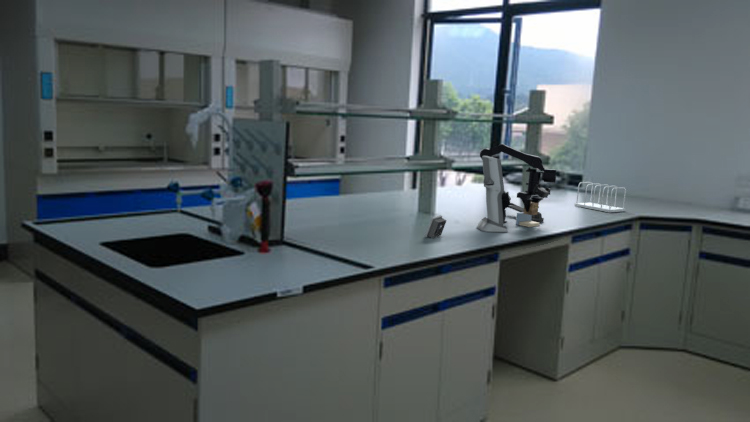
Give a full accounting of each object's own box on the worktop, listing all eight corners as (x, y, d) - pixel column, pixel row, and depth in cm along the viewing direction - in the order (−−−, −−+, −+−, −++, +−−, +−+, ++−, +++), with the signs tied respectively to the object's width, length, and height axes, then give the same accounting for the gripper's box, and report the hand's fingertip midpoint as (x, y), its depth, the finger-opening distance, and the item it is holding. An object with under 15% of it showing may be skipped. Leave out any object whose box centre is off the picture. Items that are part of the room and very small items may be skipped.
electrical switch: (434, 234, 270) (437, 214, 267) (444, 237, 267) (448, 217, 265) (424, 237, 262) (427, 216, 260) (434, 240, 259) (438, 219, 257)
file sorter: (625, 211, 375) (628, 187, 372) (610, 213, 364) (613, 187, 361) (589, 204, 394) (592, 181, 391) (574, 206, 383) (577, 182, 381)
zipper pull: (511, 202, 337) (547, 210, 317) (510, 213, 338) (545, 222, 318) (500, 203, 331) (536, 211, 311) (499, 214, 333) (534, 223, 313)
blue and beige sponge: (540, 225, 307) (541, 214, 306) (527, 227, 300) (528, 215, 299) (528, 222, 313) (530, 211, 312) (515, 224, 306) (517, 212, 305)
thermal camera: (473, 226, 292) (480, 155, 286) (498, 227, 295) (505, 156, 289) (483, 232, 281) (490, 157, 275) (508, 232, 284) (516, 158, 278)
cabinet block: (539, 214, 304) (540, 203, 303) (533, 215, 301) (534, 203, 300) (529, 212, 309) (530, 201, 308) (523, 213, 305) (524, 201, 304)
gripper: (536, 184, 290) (532, 215, 293) (558, 182, 302) (554, 213, 305) (517, 180, 299) (514, 211, 301) (539, 179, 310) (536, 209, 313)
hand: (530, 211), depth 305 cm, fingers closed on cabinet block, 5 cm apart
